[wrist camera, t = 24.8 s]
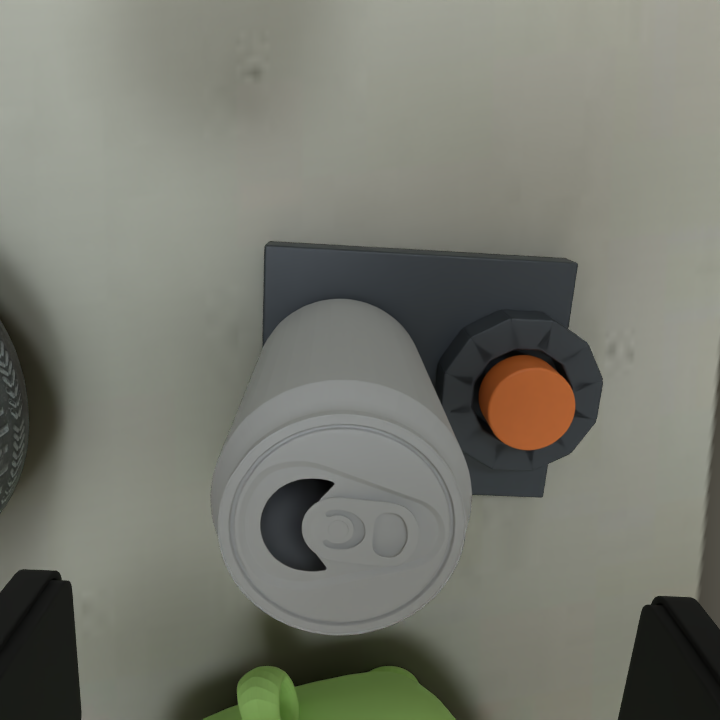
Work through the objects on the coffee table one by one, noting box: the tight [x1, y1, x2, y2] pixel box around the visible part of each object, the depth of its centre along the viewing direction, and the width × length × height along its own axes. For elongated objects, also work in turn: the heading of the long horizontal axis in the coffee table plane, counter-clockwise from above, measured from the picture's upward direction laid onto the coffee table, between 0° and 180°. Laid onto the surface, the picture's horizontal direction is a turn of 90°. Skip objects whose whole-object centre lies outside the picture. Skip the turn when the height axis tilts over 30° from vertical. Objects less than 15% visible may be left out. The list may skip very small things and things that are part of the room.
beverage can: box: [211, 299, 472, 635], centre depth 21 cm, size 6×6×12 cm
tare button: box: [479, 355, 575, 450], centre depth 25 cm, size 3×3×2 cm
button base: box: [262, 241, 603, 497], centre depth 27 cm, size 13×10×3 cm
